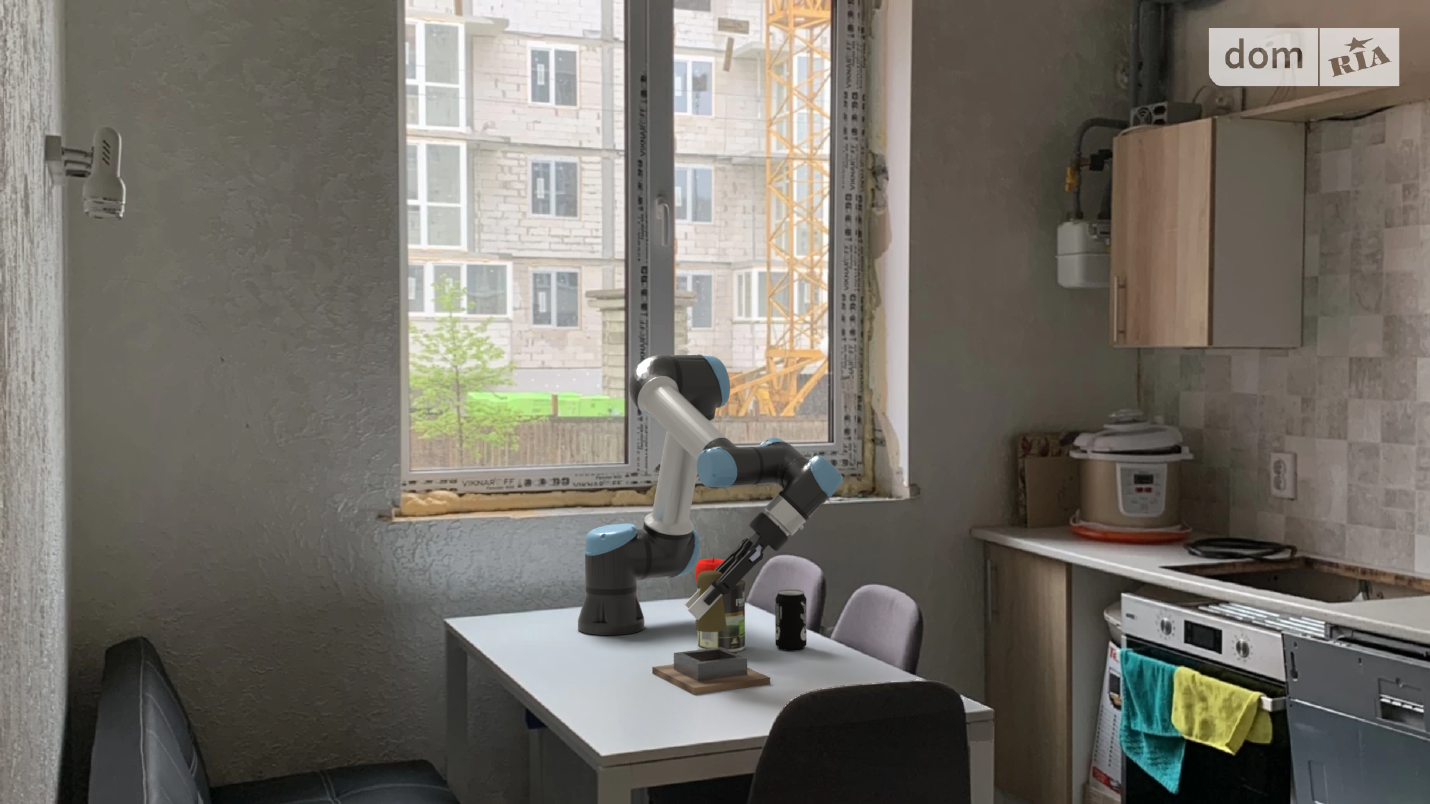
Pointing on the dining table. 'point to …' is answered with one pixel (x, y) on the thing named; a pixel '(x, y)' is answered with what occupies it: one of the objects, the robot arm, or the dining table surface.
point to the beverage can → (790, 620)
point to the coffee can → (728, 623)
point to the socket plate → (710, 671)
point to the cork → (716, 613)
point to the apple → (707, 565)
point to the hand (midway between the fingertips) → (691, 611)
